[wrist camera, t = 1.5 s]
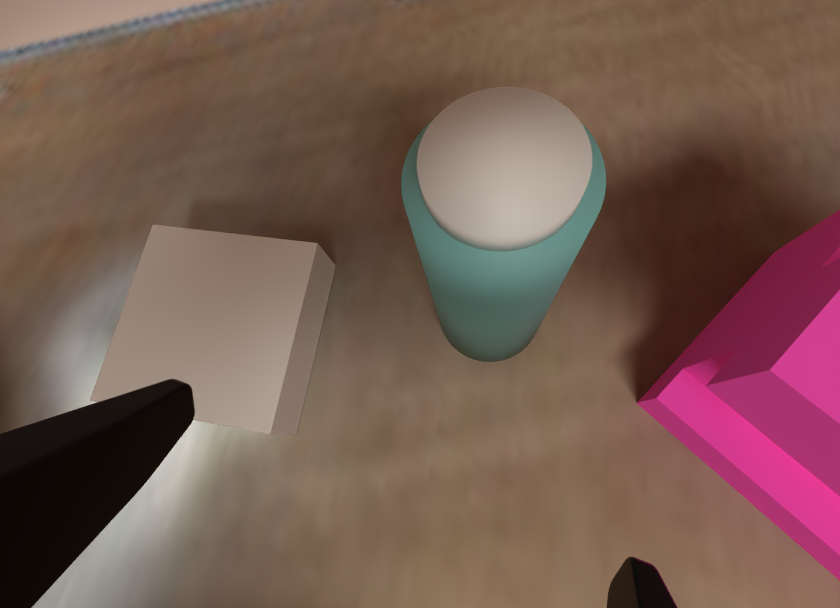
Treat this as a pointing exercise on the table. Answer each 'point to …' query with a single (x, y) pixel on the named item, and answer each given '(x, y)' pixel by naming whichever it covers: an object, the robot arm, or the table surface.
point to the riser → (223, 325)
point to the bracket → (771, 392)
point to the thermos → (500, 212)
